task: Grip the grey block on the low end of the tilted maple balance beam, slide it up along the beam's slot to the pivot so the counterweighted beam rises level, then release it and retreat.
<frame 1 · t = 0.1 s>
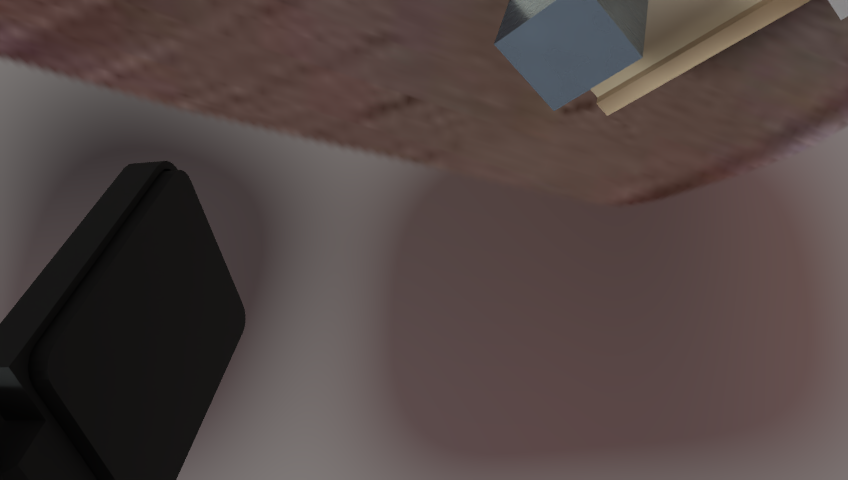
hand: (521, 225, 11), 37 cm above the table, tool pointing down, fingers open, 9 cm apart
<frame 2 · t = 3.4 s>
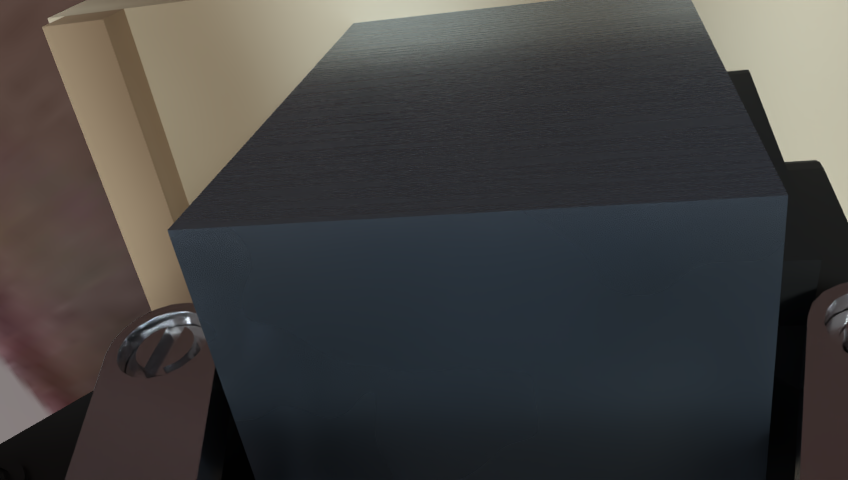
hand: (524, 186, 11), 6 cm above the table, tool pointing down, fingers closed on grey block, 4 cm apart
grey block: (527, 171, 12), point 6 cm above the table, tilted 8°, touching beam, gripper
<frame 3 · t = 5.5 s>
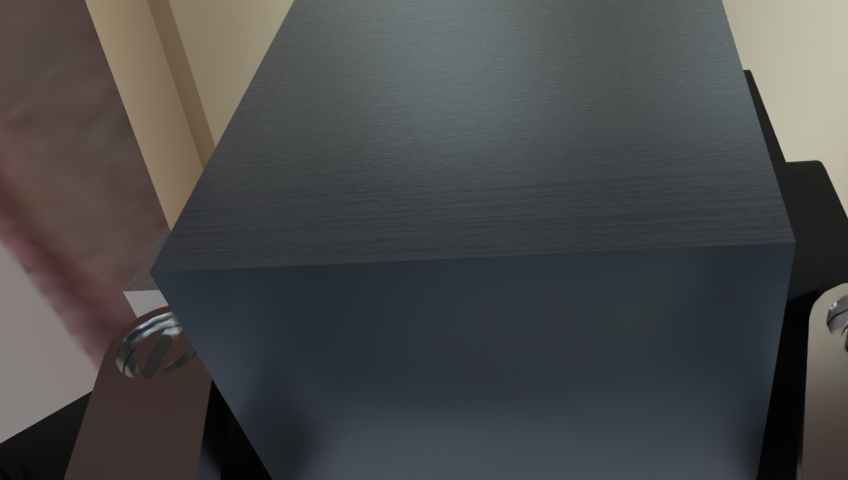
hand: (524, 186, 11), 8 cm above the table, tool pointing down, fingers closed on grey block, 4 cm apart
pivot stand: (577, 140, 20), on the table
grey block: (519, 91, 11), point 7 cm above the table, tilted 5°, touching beam, gripper
beam: (576, 258, 16), point 4 cm above the table, hinge at 7.1°, touching grey block
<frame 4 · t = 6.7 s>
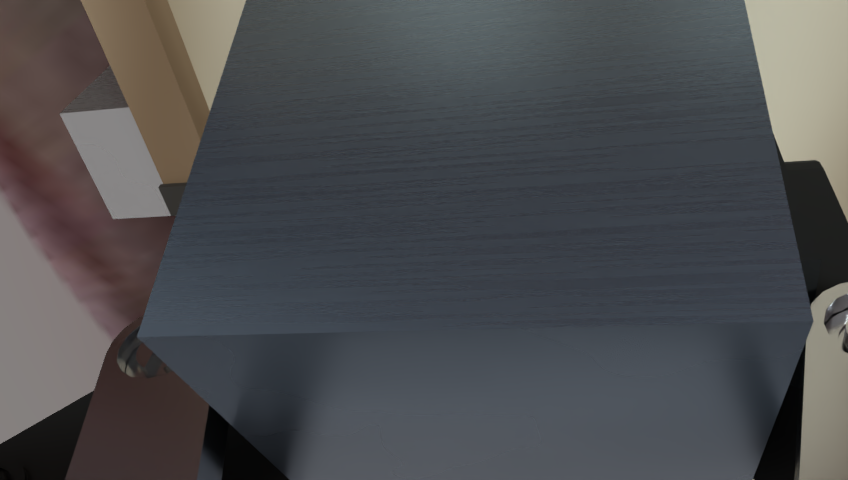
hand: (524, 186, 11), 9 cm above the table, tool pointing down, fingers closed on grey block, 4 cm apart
grey block: (510, 19, 11), point 8 cm above the table, tilted 18°, touching beam, gripper
beam: (565, 75, 15), point 4 cm above the table, hinge at -0.1°, touching grey block
when the fingers open (9 cm above the table, at t = 7.7 s): grey block stays where it is, resting on beam.
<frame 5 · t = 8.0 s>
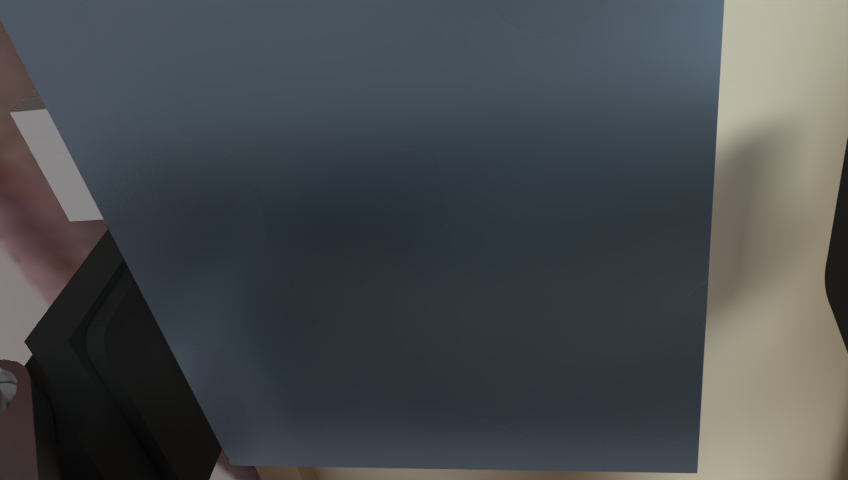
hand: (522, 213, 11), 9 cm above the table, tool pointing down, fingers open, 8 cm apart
beam: (534, 70, 14), point 4 cm above the table, hinge at 0.0°, touching grey block
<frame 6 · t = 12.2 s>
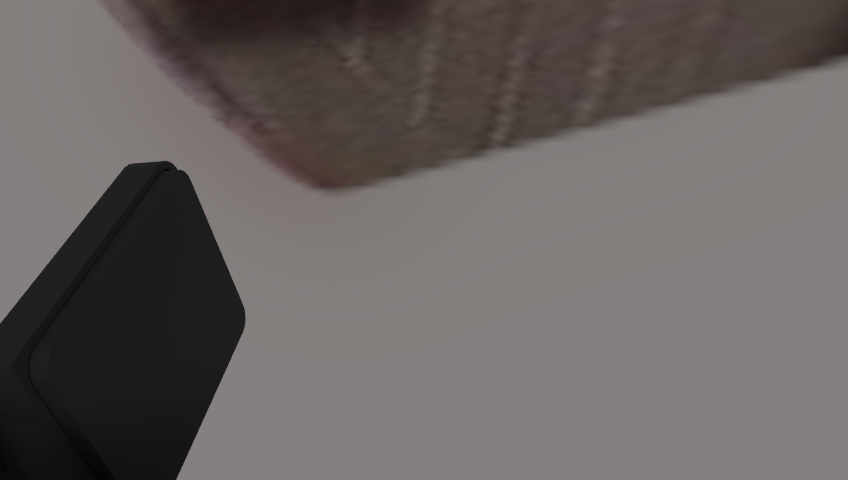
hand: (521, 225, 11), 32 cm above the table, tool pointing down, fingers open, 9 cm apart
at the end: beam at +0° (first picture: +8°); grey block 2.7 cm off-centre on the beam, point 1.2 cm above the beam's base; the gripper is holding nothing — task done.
